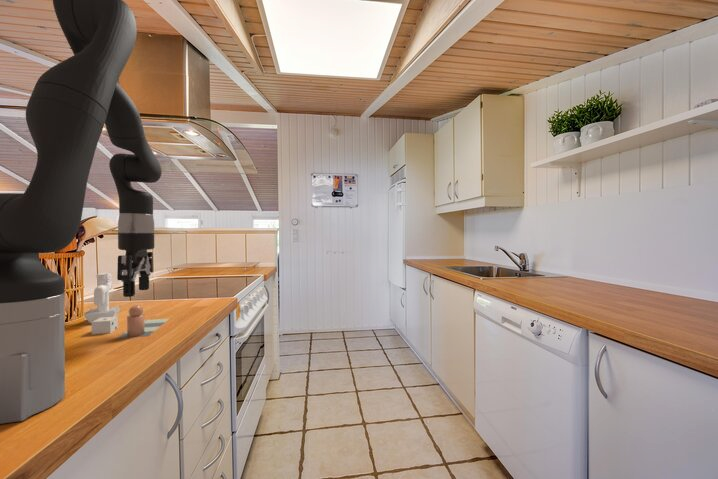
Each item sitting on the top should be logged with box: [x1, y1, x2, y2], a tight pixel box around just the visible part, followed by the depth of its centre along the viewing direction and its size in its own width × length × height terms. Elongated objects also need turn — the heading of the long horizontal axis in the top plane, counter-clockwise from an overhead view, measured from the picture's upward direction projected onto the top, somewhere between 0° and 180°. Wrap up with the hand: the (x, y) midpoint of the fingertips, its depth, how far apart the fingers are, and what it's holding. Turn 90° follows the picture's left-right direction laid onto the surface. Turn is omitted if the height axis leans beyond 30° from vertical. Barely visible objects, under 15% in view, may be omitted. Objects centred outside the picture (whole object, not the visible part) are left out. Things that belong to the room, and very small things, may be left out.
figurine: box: [83, 272, 122, 325], centre depth 87 cm, size 7×9×15 cm
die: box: [91, 316, 119, 335], centre depth 77 cm, size 4×4×4 cm
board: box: [115, 318, 170, 340], centre depth 81 cm, size 16×7×1 cm, turn 17°
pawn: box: [126, 304, 146, 338], centre depth 75 cm, size 4×4×8 cm
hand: (137, 292), depth 75 cm, fingers open, 8 cm apart
